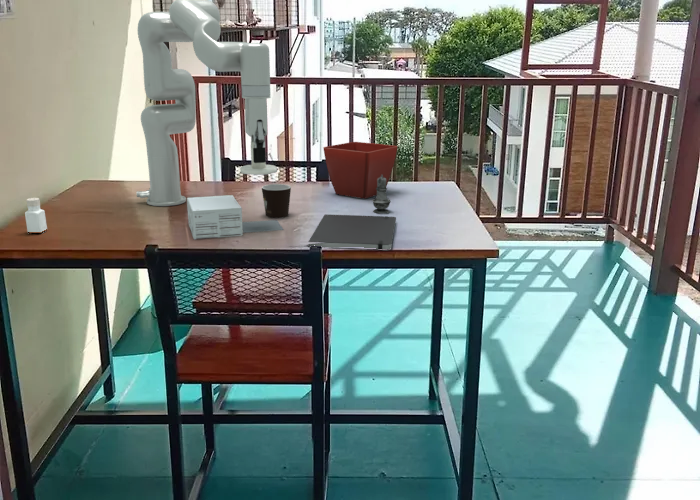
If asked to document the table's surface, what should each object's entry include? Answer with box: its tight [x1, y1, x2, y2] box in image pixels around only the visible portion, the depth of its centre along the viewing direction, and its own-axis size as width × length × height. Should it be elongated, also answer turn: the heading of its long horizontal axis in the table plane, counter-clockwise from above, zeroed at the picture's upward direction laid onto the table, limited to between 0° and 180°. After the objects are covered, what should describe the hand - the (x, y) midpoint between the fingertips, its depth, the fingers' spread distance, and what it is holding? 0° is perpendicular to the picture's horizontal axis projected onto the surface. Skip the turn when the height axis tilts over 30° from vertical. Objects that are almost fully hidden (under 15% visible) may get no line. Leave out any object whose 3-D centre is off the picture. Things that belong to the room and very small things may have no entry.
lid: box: [239, 141, 278, 176], centre depth 176 cm, size 10×10×8 cm
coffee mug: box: [261, 183, 292, 219], centre depth 194 cm, size 12×9×10 cm
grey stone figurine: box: [371, 175, 391, 215], centre depth 202 cm, size 6×6×12 cm
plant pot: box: [322, 141, 398, 199], centre depth 225 cm, size 19×19×17 cm
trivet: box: [242, 219, 285, 234], centre depth 182 cm, size 11×11×2 cm
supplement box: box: [186, 194, 244, 240], centre depth 177 cm, size 17×13×9 cm
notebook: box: [308, 213, 397, 250], centre depth 180 cm, size 22×2×28 cm
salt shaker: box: [24, 197, 48, 233], centre depth 178 cm, size 4×4×10 cm
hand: (258, 160), depth 176 cm, fingers closed on lid, 3 cm apart
